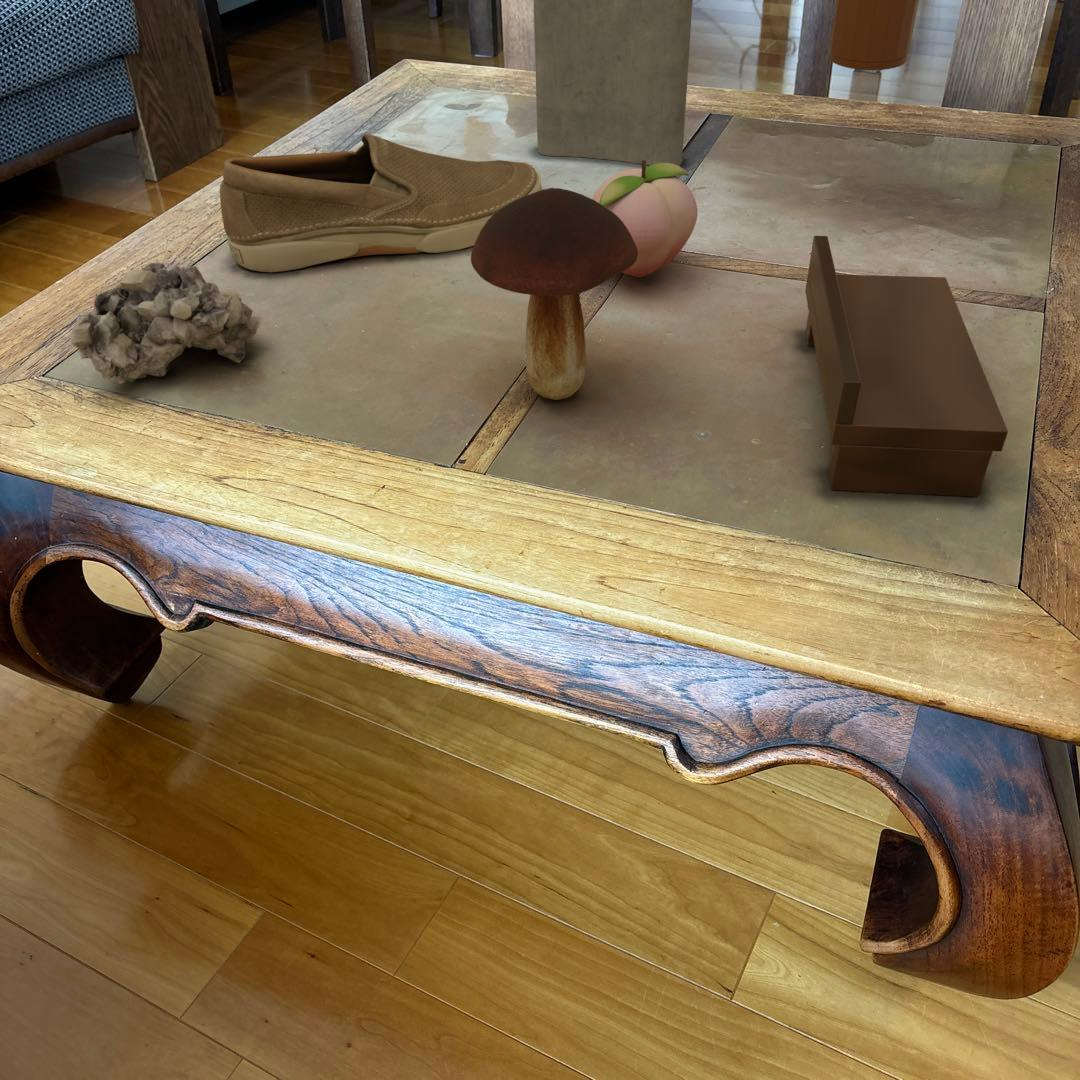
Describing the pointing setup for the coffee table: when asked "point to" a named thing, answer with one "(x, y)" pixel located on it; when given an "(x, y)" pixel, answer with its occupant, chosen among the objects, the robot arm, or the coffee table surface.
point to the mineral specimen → (161, 322)
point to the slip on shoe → (361, 203)
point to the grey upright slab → (612, 78)
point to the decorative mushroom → (553, 275)
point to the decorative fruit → (651, 212)
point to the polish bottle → (872, 33)
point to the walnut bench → (899, 383)
